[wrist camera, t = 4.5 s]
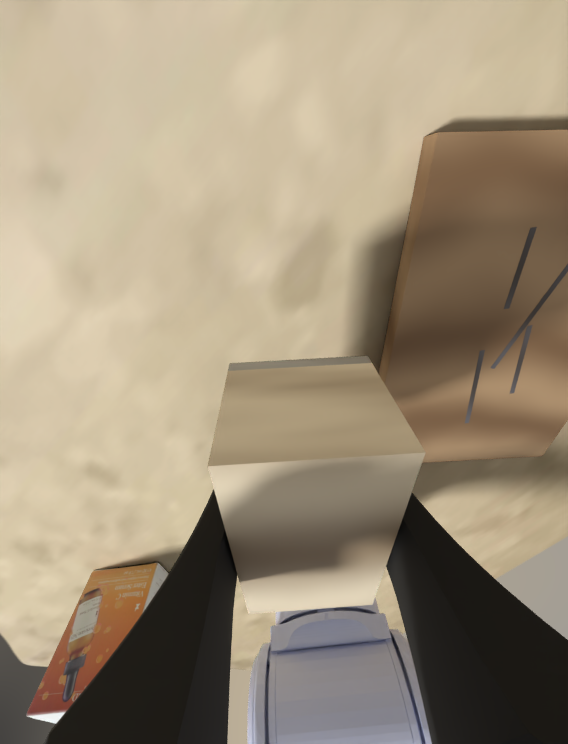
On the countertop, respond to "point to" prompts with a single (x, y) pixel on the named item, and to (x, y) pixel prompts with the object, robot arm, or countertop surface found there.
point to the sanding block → (311, 480)
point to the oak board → (483, 297)
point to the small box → (94, 634)
